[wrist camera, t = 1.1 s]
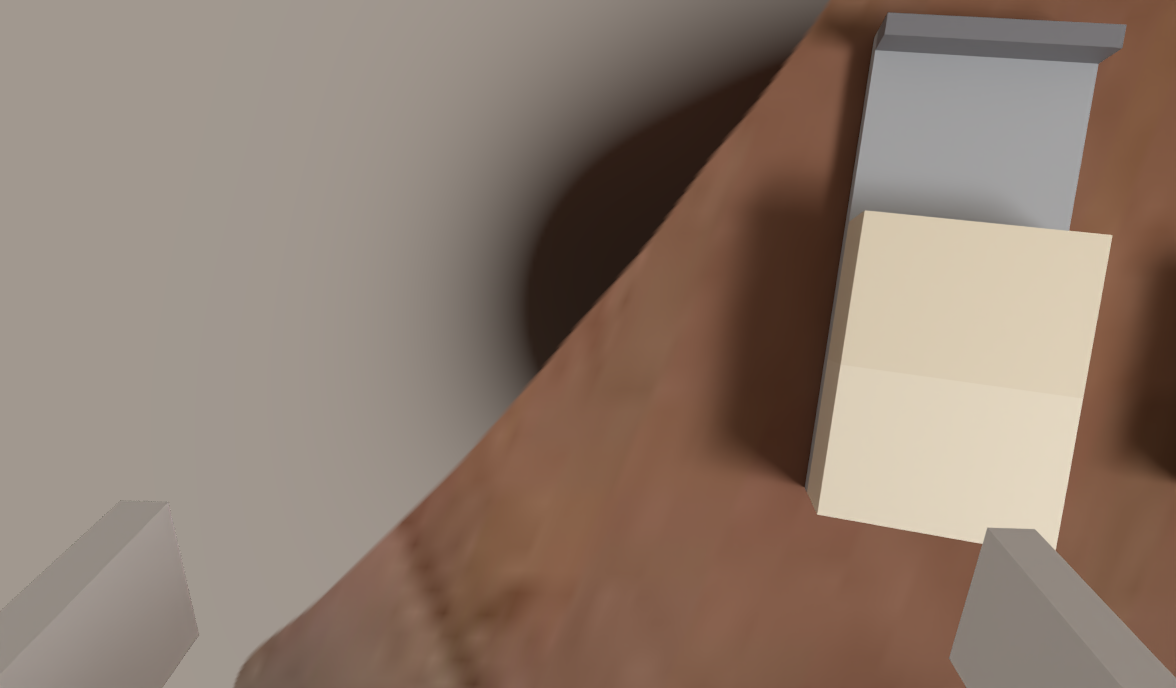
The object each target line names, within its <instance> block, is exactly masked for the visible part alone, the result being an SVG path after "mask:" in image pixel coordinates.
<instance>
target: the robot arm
mask: <svg viewBox="0 0 1176 688" xmlns="http://www.w3.org/2000/svg"><path fill="white" fill-rule="evenodd" d="M198 636H199V633H198V628H197V624H196V620H195V615H194V611H193V606H192V602H191V598H190V593H189V589H188V585H187V580H186V576H185V572H184V567H183V563H182V559H181V555H180V550H179V546H178V542H177V537H176V533H175V528H174V524H173V520H172V516H171V511H170V507H169V502H154V501H153V502H152V501H123V500H121V501H119V502H118V503H117V504H116V505H115V506H114V507H113V508H112V509H111V510H110V511H109V512H107V513H106V514H105V515H104V516H103V517H102V518H101V519H100V520H99V521H98V522H97V523H96V524H94V525H93V526H92V527H91V528H90V529H89V530H88V531H87V532H86V533H85V534H83V535H82V536H81V537H80V538H79V539H78V540H77V541H76V542H75V543H74V544H73V545H71V546H70V547H69V548H68V549H67V550H66V551H65V552H64V553H63V554H62V555H61V556H60V557H59V558H57V559H56V560H55V561H54V562H53V563H52V564H51V565H50V566H49V567H48V568H46V569H45V570H44V571H43V572H42V573H41V574H40V575H39V576H38V577H37V578H36V579H34V580H33V581H32V582H31V583H30V584H29V585H28V586H27V587H26V588H25V589H24V590H22V591H21V592H20V594H18V595H17V596H16V597H15V598H14V599H13V600H12V601H11V602H10V603H8V604H7V605H6V606H5V607H4V608H3V609H2V610H1V611H0V688H162V687H163V686H164V685H165V683H166V682H167V680H168V679H169V677H170V676H171V675H172V673H173V672H174V670H175V669H176V667H177V666H178V664H179V663H180V661H181V660H182V659H183V657H184V656H185V654H186V653H187V652H188V650H189V649H190V647H191V646H192V644H193V643H194V641H195V640H196V639H197V637H198ZM949 659H950V661H951V662H952V664H953V666H954V667H955V669H956V671H957V672H958V674H959V676H960V677H961V679H962V681H963V682H964V684H965V686H966V688H1176V678H1175V677H1174V676H1173V675H1172V674H1171V673H1170V672H1169V670H1168V669H1167V668H1166V667H1165V666H1164V665H1163V664H1162V663H1161V662H1160V661H1159V660H1158V659H1157V658H1156V657H1155V656H1154V655H1153V654H1152V652H1151V651H1150V650H1149V649H1148V648H1147V647H1146V646H1145V645H1144V644H1143V643H1142V642H1141V641H1140V640H1139V639H1138V638H1137V637H1136V636H1135V634H1134V633H1133V632H1132V631H1131V630H1130V629H1129V628H1128V627H1127V626H1126V625H1125V624H1124V623H1123V622H1122V621H1121V620H1120V619H1119V617H1118V616H1117V615H1116V614H1115V613H1114V612H1113V611H1112V610H1111V609H1110V608H1109V607H1108V606H1107V605H1106V604H1105V603H1104V602H1103V601H1102V599H1101V598H1100V597H1099V596H1098V595H1097V594H1096V593H1095V592H1094V591H1093V590H1092V589H1091V588H1090V587H1089V586H1088V585H1087V584H1086V583H1085V581H1084V580H1083V579H1082V578H1081V577H1080V576H1079V575H1078V574H1077V573H1076V572H1075V571H1074V570H1073V569H1072V568H1071V567H1070V566H1069V564H1068V563H1067V562H1066V561H1065V560H1064V559H1063V558H1062V557H1061V556H1060V555H1059V554H1058V553H1057V552H1056V551H1055V550H1054V549H1053V548H1052V546H1051V545H1050V544H1049V543H1048V542H1047V541H1046V540H1045V539H1044V538H1043V537H1042V536H1041V535H1040V534H1039V533H1038V532H1037V531H1036V530H1035V529H1016V528H987V531H986V534H985V537H984V541H983V544H982V548H981V551H980V555H979V558H978V561H977V565H976V568H975V572H974V575H973V578H972V582H971V585H970V589H969V592H968V596H967V599H966V602H965V606H964V609H963V613H962V616H961V619H960V623H959V626H958V630H957V633H956V637H955V640H954V643H953V647H952V650H951V654H950V657H949Z"/></svg>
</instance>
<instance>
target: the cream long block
mask: <svg viewBox="0 0 1176 688" xmlns="http://www.w3.org/2000/svg"><path fill="white" fill-rule="evenodd" d="M1125 30H1126V25H1121V24H1101V23H1082V22H1062V21H1043V20H1023V19H1004V18H984V17H965V16H945V15H926V14H906V13H887V15H886V17H885V19H884V21H883V22H882V24H881V26H880V28H879V30H878V32H877V33H876V35H875V37H874V42H873V49H872V55H871V62H870V68H869V75H868V81H867V88H866V94H865V100H864V107H863V113H862V120H861V126H860V133H859V139H858V146H857V152H856V159H855V165H854V172H853V178H852V185H851V191H850V198H849V204H848V211H847V217H846V224H845V230H844V237H843V243H842V250H841V256H840V263H839V269H838V276H837V282H836V288H835V295H834V301H833V308H832V314H831V321H830V327H829V334H828V340H827V347H826V353H825V360H824V366H823V373H822V379H821V386H820V392H819V399H818V405H817V412H816V418H815V425H814V431H813V438H812V444H811V451H810V457H809V464H808V470H807V476H806V483H805V489H806V492H807V494H808V496H809V498H810V500H811V502H812V504H813V506H814V508H815V511H816V513H817V514H818V515H823V516H829V517H835V518H840V519H846V520H852V521H857V522H863V523H868V524H874V525H880V526H885V527H891V528H896V529H902V530H908V531H913V532H919V533H925V534H930V535H936V536H941V537H947V538H953V539H958V540H964V541H970V542H975V543H981V544H983V541H984V537H985V534H986V531H987V528H1016V529H1035V530H1036V531H1037V532H1038V533H1039V534H1040V535H1041V536H1042V537H1043V538H1044V539H1045V540H1046V541H1047V542H1048V543H1049V544H1050V545H1051V546H1052V548H1053V549H1054V550H1055V551H1056V545H1057V540H1058V534H1059V529H1060V523H1061V518H1062V512H1063V507H1064V501H1065V495H1066V490H1067V484H1068V479H1069V473H1070V468H1071V462H1072V457H1073V451H1074V446H1075V440H1076V434H1077V429H1078V423H1079V418H1080V412H1081V407H1082V401H1083V396H1084V390H1085V385H1086V379H1087V373H1088V368H1089V362H1090V357H1091V351H1092V346H1093V340H1094V335H1095V329H1096V324H1097V318H1098V312H1099V307H1100V301H1101V296H1102V290H1103V285H1104V279H1105V274H1106V268H1107V263H1108V257H1109V252H1110V246H1111V240H1112V235H1105V234H1095V233H1085V232H1075V231H1069V228H1070V222H1071V216H1072V211H1073V205H1074V199H1075V194H1076V188H1077V182H1078V177H1079V171H1080V165H1081V160H1082V154H1083V148H1084V143H1085V137H1086V131H1087V126H1088V120H1089V114H1090V109H1091V103H1092V97H1093V91H1094V86H1095V80H1096V74H1097V69H1098V64H1099V63H1100V62H1102V61H1103V60H1105V59H1106V58H1108V57H1109V56H1111V55H1112V54H1114V53H1115V52H1117V51H1118V50H1120V49H1121V48H1122V47H1123V41H1124V36H1125Z"/></svg>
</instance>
